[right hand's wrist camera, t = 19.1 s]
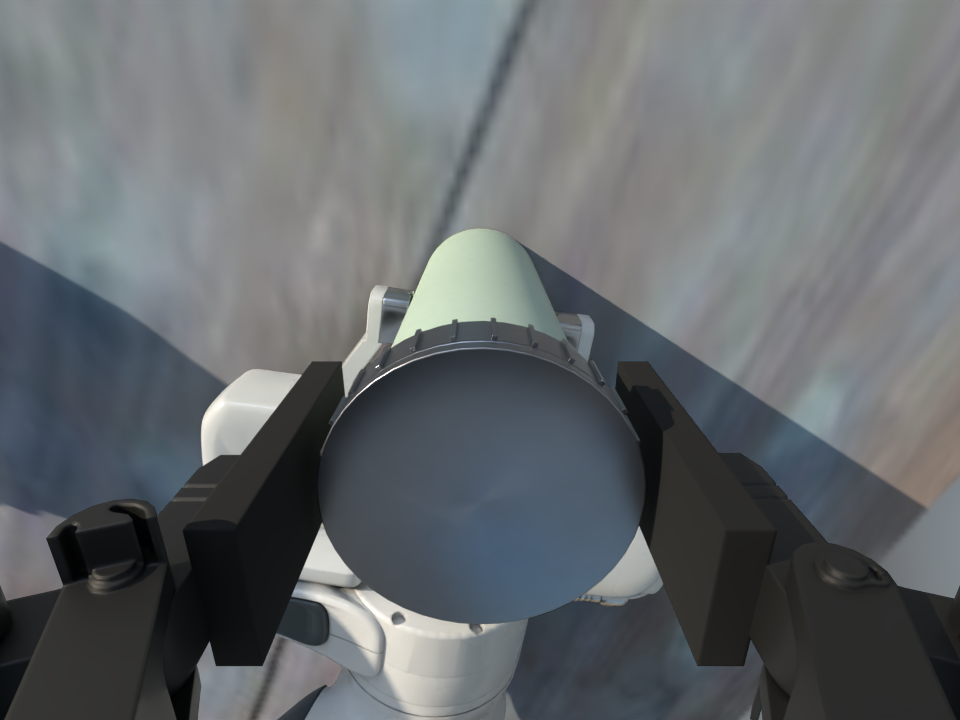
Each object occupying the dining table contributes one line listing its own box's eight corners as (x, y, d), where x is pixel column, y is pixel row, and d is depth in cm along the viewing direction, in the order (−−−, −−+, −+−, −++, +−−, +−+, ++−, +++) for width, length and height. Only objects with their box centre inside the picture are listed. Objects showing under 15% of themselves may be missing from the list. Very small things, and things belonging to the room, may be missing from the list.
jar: (543, 328, 28) (627, 568, 12) (437, 347, 28) (383, 602, 12) (527, 218, 26) (602, 334, 10) (412, 239, 26) (311, 383, 10)
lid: (422, 254, 10) (412, 273, 9) (690, 411, 12) (722, 450, 10) (285, 500, 13) (258, 548, 11) (526, 611, 14) (531, 668, 12)
